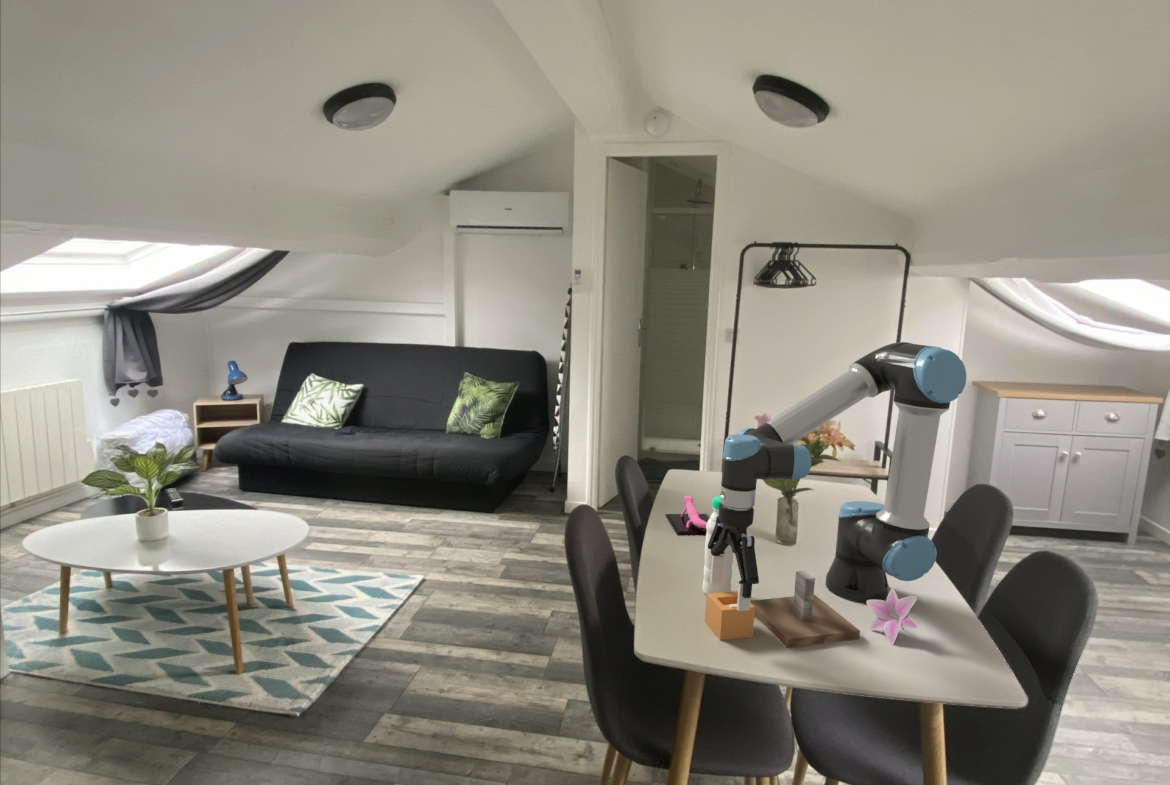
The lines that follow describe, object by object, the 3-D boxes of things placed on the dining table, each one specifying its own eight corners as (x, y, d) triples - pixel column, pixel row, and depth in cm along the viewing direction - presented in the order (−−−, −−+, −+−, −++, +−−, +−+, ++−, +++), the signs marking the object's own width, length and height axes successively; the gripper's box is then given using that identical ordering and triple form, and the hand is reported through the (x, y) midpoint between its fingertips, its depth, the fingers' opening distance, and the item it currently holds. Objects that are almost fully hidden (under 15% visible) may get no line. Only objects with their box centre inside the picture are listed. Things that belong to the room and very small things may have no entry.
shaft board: (813, 601, 172) (817, 556, 170) (859, 638, 154) (864, 588, 152) (747, 608, 167) (751, 561, 165) (787, 647, 150) (791, 595, 148)
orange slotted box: (736, 618, 162) (738, 589, 161) (752, 636, 154) (755, 605, 153) (704, 622, 160) (706, 592, 159) (719, 639, 152) (721, 609, 151)
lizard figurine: (706, 515, 234) (707, 494, 232) (723, 537, 214) (725, 514, 213) (663, 515, 232) (664, 494, 231) (677, 537, 213) (678, 515, 211)
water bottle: (709, 601, 170) (715, 504, 166) (697, 588, 177) (703, 494, 173) (735, 598, 172) (742, 502, 168) (722, 586, 179) (728, 493, 175)
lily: (863, 620, 165) (854, 592, 161) (912, 605, 163) (905, 577, 159) (883, 660, 155) (875, 632, 150) (936, 645, 153) (929, 616, 149)
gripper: (697, 488, 163) (691, 573, 167) (748, 526, 139) (739, 624, 143) (727, 487, 165) (720, 571, 169) (781, 524, 141) (772, 621, 145)
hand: (729, 595), depth 156 cm, fingers open, 13 cm apart
